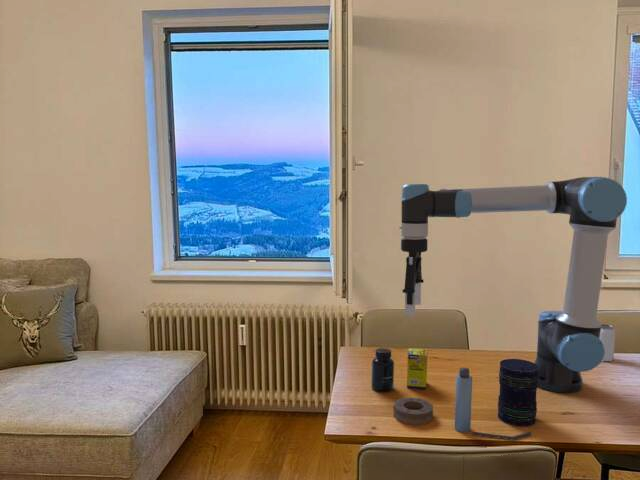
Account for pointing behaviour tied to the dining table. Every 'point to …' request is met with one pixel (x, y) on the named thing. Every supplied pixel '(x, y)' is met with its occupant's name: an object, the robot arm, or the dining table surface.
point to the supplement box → (417, 368)
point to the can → (607, 341)
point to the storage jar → (518, 392)
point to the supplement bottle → (382, 371)
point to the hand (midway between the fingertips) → (413, 309)
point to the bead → (413, 411)
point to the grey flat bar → (503, 435)
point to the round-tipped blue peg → (463, 400)
